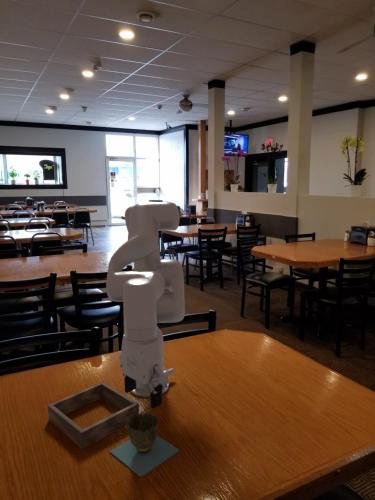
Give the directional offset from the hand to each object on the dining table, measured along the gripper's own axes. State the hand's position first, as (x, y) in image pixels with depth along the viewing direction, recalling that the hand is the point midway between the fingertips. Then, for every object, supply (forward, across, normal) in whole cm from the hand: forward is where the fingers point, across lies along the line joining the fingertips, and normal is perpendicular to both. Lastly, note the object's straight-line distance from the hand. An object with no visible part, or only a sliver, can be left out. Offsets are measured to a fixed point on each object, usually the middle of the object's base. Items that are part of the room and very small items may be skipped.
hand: (143, 398), depth 93 cm
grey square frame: (+14, -20, -2) cm, 25 cm away
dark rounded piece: (+14, +1, -1) cm, 14 cm away
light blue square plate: (+14, +1, -1) cm, 14 cm away
